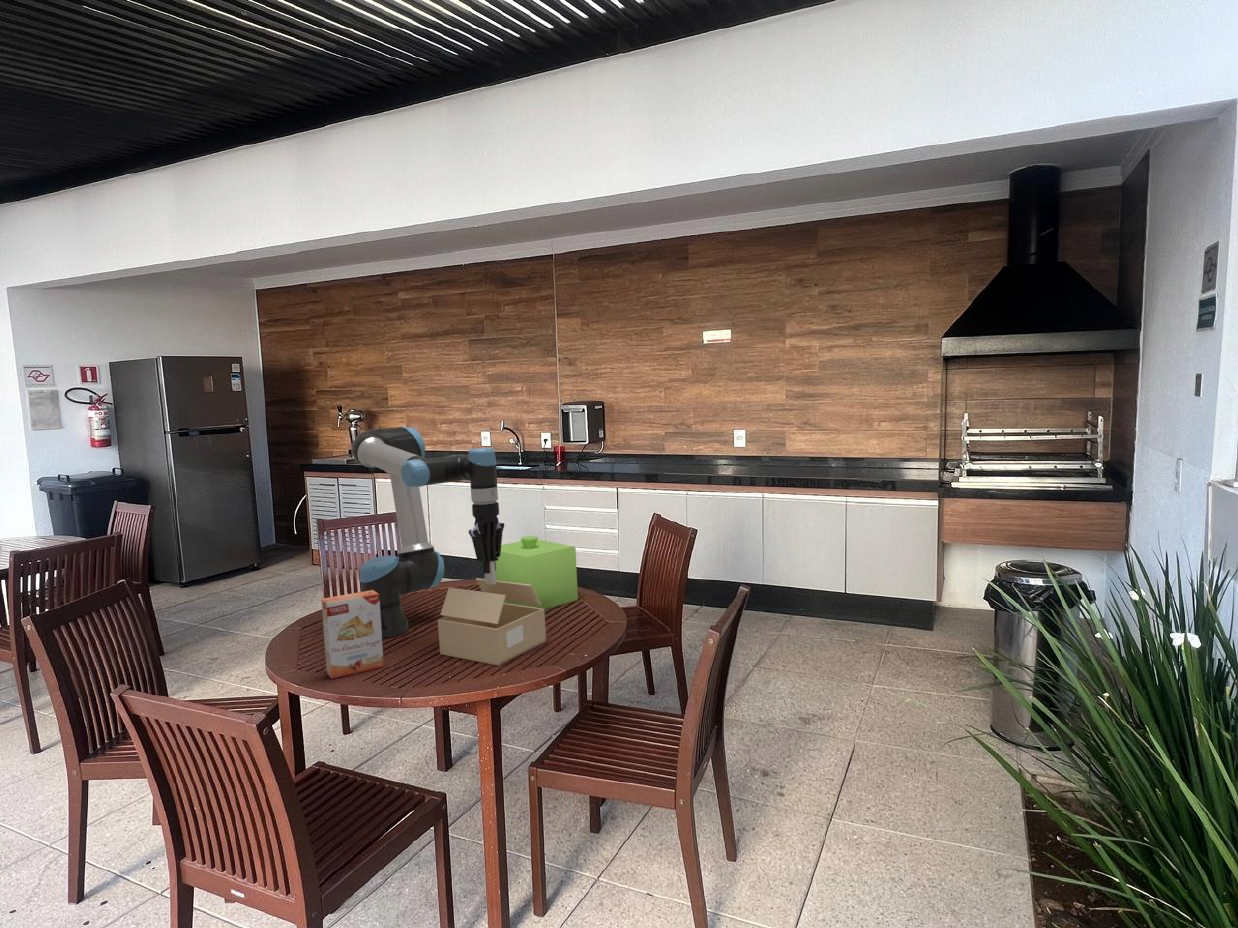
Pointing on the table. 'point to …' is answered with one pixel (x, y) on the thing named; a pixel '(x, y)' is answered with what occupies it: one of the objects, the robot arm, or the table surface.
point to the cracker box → (352, 633)
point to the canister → (540, 570)
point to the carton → (493, 635)
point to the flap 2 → (511, 591)
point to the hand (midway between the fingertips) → (490, 583)
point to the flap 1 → (473, 605)
